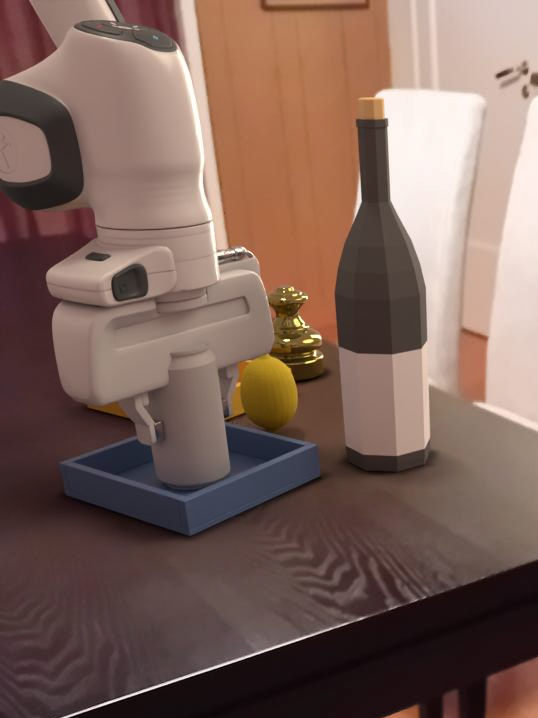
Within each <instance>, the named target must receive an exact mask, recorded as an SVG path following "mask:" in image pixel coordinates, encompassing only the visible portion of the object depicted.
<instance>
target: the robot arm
mask: <svg viewBox="0 0 538 718" xmlns="http://www.w3.org/2000/svg"><path fill="white" fill-rule="evenodd" d="M28 1H29V3H30V5H31V7H32V8H33V10H34V11H35V13H36V14H37V16H38V18H39V20H40V22H41V23H42V25H43V27H44V28H45V30H46V31H47V33H48V35H49V37H50V39H51V40H52V42H53V43H54V45H55V47H56V48H57V49H56V50H55V51H54V52H52V53H51V54H50V55H49V56H47V57H46V58H44V59H43V60H41V61H40V62H38V63H37V64H35V65H33V66H31V67H29V68H27V69H24V70H23V71H20V72H18V73H16V74H14V75H12V76H8V77H6V78H4V79H0V192H1V193H2V194H3V195H4V196H5V197H7V198H8V199H9V200H10V201H11V202H13V203H14V204H16V205H17V206H19V207H21V208H22V209H26V210H28V211H38V212H45V213H58V212H59V213H60V212H66V211H73V210H78V209H91V210H92V212H93V214H94V220H95V221H94V223H95V229H96V234H97V237H96V238H94V239H92V240H91V241H89V242H88V243H86V245H84V246H82V247H81V248H80V249H78V250H77V251H75V252H74V253H72V254H70V255H69V256H68V257H66V258H64V259H63V260H61V261H59V262H58V263H56V264H54V265H53V266H52V267H50V268H49V269H48V271H47V272H46V275H45V281H46V286H47V290H48V292H49V294H50V295H51V296H52V297H54V298H56V299H60V300H61V301H60V302H59V303H58V304H57V305H56V307H55V309H54V311H53V314H52V318H51V319H52V320H51V333H52V341H53V350H54V355H55V362H56V367H57V371H58V377H59V380H60V381H59V382H60V384H61V387H62V389H63V391H64V393H66V394H67V395H68V396H69V397H70V398H71V399H72V400H73V401H75V402H76V403H77V402H78V403H81V404H84V405H91V406H96V407H101V406H105V405H108V404H111V403H115V402H118V403H119V406H120V407H121V408H122V409H123V411H124V412H125V413H126V414H127V415H128V416H129V418H128V419H130V420H131V421H132V422H133V423H134V428H135V431H136V436H137V438H138V440H139V442H140V443H142V444H145V445H149V446H150V445H153V444H156V443H158V442H161V441H163V440H165V434H164V433H163V430H164V426H163V421H160V420H154V419H152V418H151V417H150V415H149V414H148V412H147V411H146V410H145V408H144V406H146V405H148V404H149V400H148V393H147V392H149V391H153V390H156V389H159V388H162V387H165V386H167V385H168V384H169V374H168V368H169V365H170V363H171V360H172V357H171V356H170V353H174V352H177V351H180V350H184V349H188V348H191V347H195V346H198V345H202V344H205V345H206V343H209V344H210V346H209V349H210V350H211V351H212V352H213V353H214V355H215V356H216V362H217V369H218V377H219V384H220V392H221V400H222V407H223V415H224V418H227V417H230V416H232V415H233V406H232V398H231V397H232V396H233V393H234V390H235V387H236V384H237V381H238V378H239V370H238V363H241V362H245V361H248V360H255V359H257V358H259V357H260V356H264V355H267V354H269V353H270V351H271V349H272V346H273V343H274V330H273V324H272V322H273V319H272V313H271V307H270V306H269V304H268V300H267V296H266V294H267V292H266V288H265V285H264V283H263V280H262V277H261V276H262V275H261V269H260V268H261V267H260V262H259V260H258V258H257V257H256V256H255V255H254V254H253V253H252V252H251V251H250V250H248V249H246V248H245V247H244V246H243V245H233V246H230V247H228V248H223V249H222V248H221V249H218V248H217V241H216V240H217V239H216V232H215V226H214V225H215V224H214V219H213V217H214V216H213V211H212V209H211V206H210V204H209V201H208V199H207V196H206V193H205V188H204V187H205V186H204V169H205V163H206V155H205V146H204V140H203V133H202V132H203V131H202V125H201V119H200V113H199V107H198V103H197V97H196V92H195V89H194V84H193V80H192V76H191V72H190V70H189V67H188V63H187V62H186V58H185V56H184V54H183V52H182V50H181V48H180V46H179V45H178V43H177V42H176V40H174V39H173V38H171V37H170V36H169V35H168V34H167V33H165V32H163V31H161V30H159V29H156V28H153V27H150V26H146V25H142V24H139V23H132V22H128V23H127V22H126V20H125V18H124V17H123V15H122V13H121V11H120V9H119V7H118V6H117V4H116V2H115V0H28Z"/></svg>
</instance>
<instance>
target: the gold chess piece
mask: <svg viewBox="0 0 538 718" xmlns="http://www.w3.org/2000/svg"><path fill="white" fill-rule="evenodd" d="M266 296H267V300H268V304H269V307H270V308H272V310H273V312H274V313H275V317H274V320H272V324H273V330H274V343H273V346H272V349H271V351H270V353H269V354H268V355H269V356H270V357H273V358H276V359H278V360H280V361H281V362H283V363H284V364H285V365H286V366H287V367H288V368H291V373H292V375H293V378H294V381H295V382H302V381H308V380H312V379H316V378H317V377H320V376H321V375H322V374H323V373H324V371H325V367H324V366H325V365H324V353H323V352H322V351H320V350H319V349H321V347H322V344H323V337H322V335H321V333H320V332H319V331H317V330H316V329H314V328H312V327H310V324H309V323H307V322H306V321H304V319H303V318H302V317H301V315H300V311H301V309H302V307H303V306H304V305H305V304H306V303H307V302H308V300H309V297H308V294H307V293H305V292H304V291H302V290H300V289H297V288H294V286H292V285H288V284H287V285H286V284H283V285H278V286H277V287H276V288H275V289H273V290H271V291H269V292H268V293H266Z"/></svg>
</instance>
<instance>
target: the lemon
mask: <svg viewBox="0 0 538 718" xmlns="http://www.w3.org/2000/svg"><path fill="white" fill-rule="evenodd" d="M240 397H241V402H242V406H243V409H244V411H245V413H244V414H245V415H246V416H247V418H248V419H249V420H250V422H252V424H254V425H255V426H257V427H258V428H262V429H265V431H266V432H269V433H273V434H277V433H278V431H279V430H280V429H281V428H282V427H284V426H286V425H288V424H289V423H290V422H291V420H292V419H293V418H294V416H295V414H296V411H297V410H298V401H299V399H298V397H299V396H298V388H297V384H296V381H294V378H293V375H292V373H291V371H290V369H289V368H288V367H287V366H286V365H285V364H284V363H283V362H281V361H280V360H278V359H276V358H273V357H270V356H269V355H268V354H267V355H264V356H260V357H257V358H254V359H252V362H250V363H249V364H248V365H247V366H246V368H245V369H244V371H243V374H242V378H241V384H240Z"/></svg>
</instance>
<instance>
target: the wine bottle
mask: <svg viewBox="0 0 538 718" xmlns="http://www.w3.org/2000/svg"><path fill="white" fill-rule="evenodd" d="M357 107H358V118H355V128H356V129H357V144H358V145H357V147H358V163H359V180H360V198H361V202H360V204H359V208H358V210H357V212H356V215H355V217H354V220H353V222H352V224H351V227H350V229H349V231H348V234H347V236H346V238H345V241H344V244H343V247H342V251H341V255H340V258H339V262H338V265H337V271H336V279H335V286H334V307H335V320H336V332H337V333H336V335H337V347H338V358H339V359H338V360H339V374H340V375H339V376H340V388H341V389H340V390H341V401H342V414H343V429H344V442H345V453H346V458H347V462H348V463H351V464H352V465H354V466H356V467H358V468H360V469H362V470H364V471H369V472H370V471H371V472H394V473H398V472H402V471H405V470H409V469H413V468H416V467H419V466H424V465H425V464H426V462H427V459H428V457H429V455H430V451H431V421H430V420H431V418H430V417H431V416H430V386H429V385H430V383H429V381H430V380H429V351H428V350H429V349H428V347H429V346H428V315H427V313H428V312H427V309H428V308H427V287H426V281H425V278H424V274H423V270H422V265H421V263H420V260H419V257H418V254H417V251H416V248H415V246H414V243H413V240H412V238H411V237H410V235H409V233H408V231H407V229H406V227H405V225H404V223H403V222H402V220H401V218H400V216H399V214H398V213H397V210H396V208H395V206H394V204H393V202H392V199H391V180H390V156H389V131H388V127H389V118H388V117H387V118H386V115H385V111H386V110H385V98H384V97H359V98H358V99H357Z"/></svg>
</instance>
